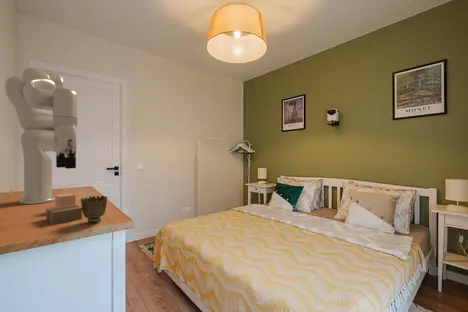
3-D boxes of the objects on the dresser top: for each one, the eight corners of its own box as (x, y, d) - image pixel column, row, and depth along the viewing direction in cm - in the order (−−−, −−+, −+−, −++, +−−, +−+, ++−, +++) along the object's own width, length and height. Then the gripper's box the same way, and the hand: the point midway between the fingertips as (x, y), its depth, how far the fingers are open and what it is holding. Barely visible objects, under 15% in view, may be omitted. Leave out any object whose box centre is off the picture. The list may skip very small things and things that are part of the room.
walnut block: (46, 220, 78) (46, 208, 78) (74, 215, 85) (74, 204, 84) (52, 225, 73) (52, 212, 73) (81, 219, 79) (81, 208, 79)
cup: (79, 221, 77) (79, 196, 77) (105, 217, 81) (105, 194, 81) (81, 227, 71) (81, 201, 71) (109, 223, 76) (109, 198, 75)
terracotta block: (55, 211, 89) (55, 195, 89) (70, 208, 93) (70, 193, 93) (59, 213, 86) (59, 197, 86) (75, 210, 90) (75, 195, 90)
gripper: (46, 123, 91) (46, 167, 91) (61, 119, 80) (62, 169, 81) (68, 125, 97) (69, 166, 97) (85, 121, 86) (86, 168, 86)
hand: (65, 167), depth 89 cm, fingers open, 9 cm apart
